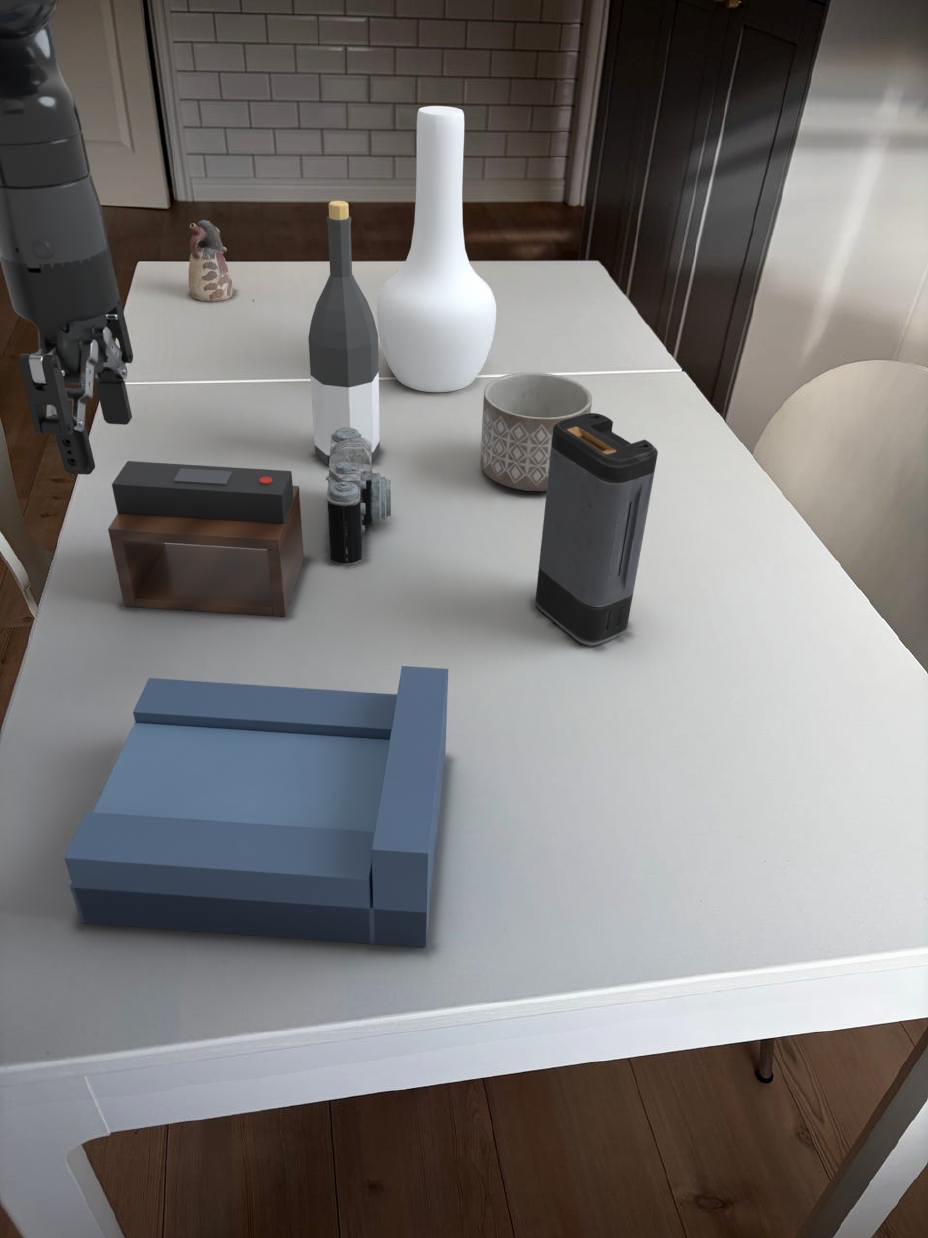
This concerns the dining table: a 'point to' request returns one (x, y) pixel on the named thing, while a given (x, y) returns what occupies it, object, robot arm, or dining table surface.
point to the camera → (353, 495)
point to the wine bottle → (343, 348)
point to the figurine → (208, 264)
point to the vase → (437, 274)
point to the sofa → (271, 813)
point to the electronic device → (593, 527)
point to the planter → (526, 425)
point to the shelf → (208, 562)
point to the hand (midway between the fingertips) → (100, 446)
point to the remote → (203, 492)
